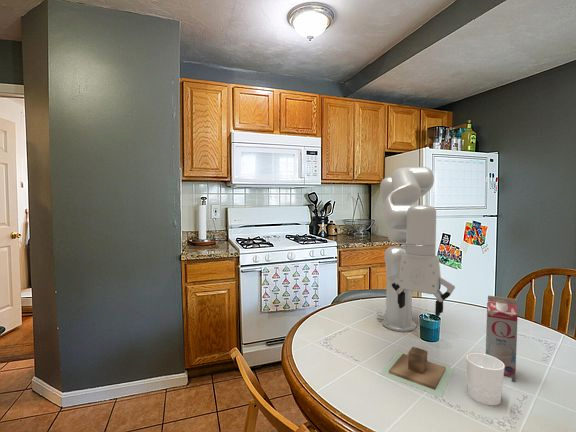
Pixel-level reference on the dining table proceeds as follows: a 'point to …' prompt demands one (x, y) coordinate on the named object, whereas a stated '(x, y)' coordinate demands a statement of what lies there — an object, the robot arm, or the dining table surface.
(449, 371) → the mat
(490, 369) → the white cup
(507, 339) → the juice carton
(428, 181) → the robot arm
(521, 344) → the dining table surface
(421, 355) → the lid
